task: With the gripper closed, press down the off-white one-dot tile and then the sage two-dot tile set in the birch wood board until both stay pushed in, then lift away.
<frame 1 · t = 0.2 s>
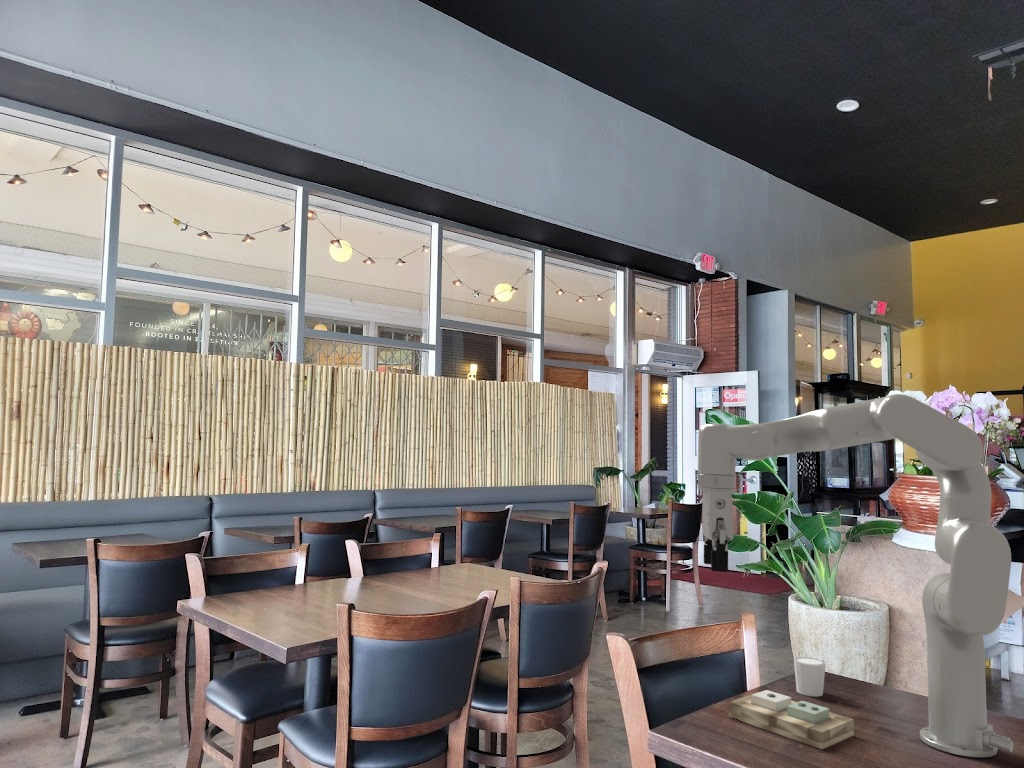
hand: (715, 567, 150), 30 cm above the table, tool pointing down, fingers open, 9 cm apart
tile board: (789, 725, 146), on the table
two dot tile: (808, 712, 143), point 4 cm above the table, slide at 0.0 cm
white cup: (809, 693, 168), on the table
one dot tile: (771, 701, 149), point 4 cm above the table, slide at 0.0 cm
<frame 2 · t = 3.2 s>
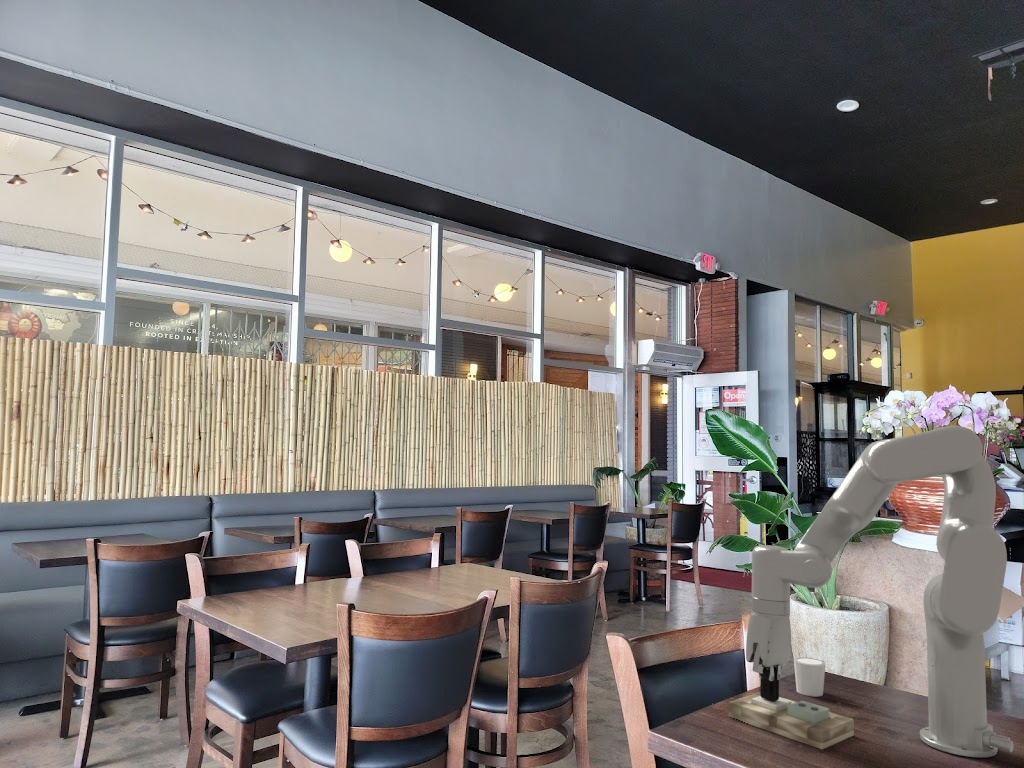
hand: (769, 698, 150), 4 cm above the table, tool pointing down, fingers closed
one dot tile: (771, 705, 149), point 3 cm above the table, slide at 0.8 cm, touching gripper
everything else where it was.
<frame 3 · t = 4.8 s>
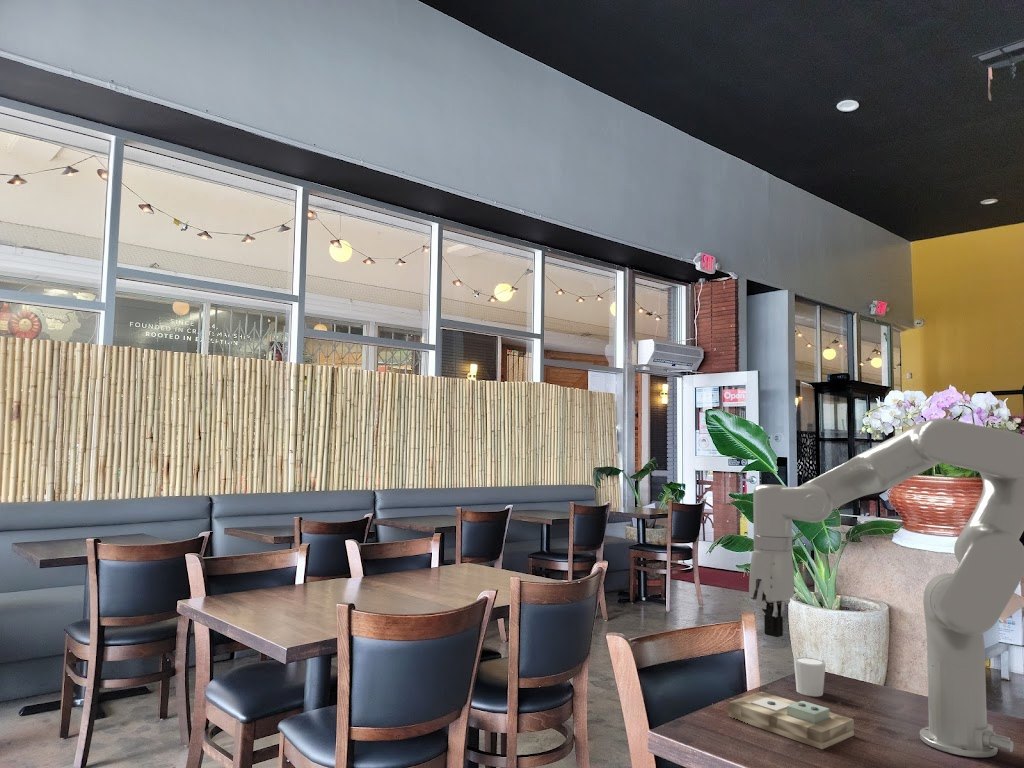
hand: (773, 635, 150), 17 cm above the table, tool pointing down, fingers closed
one dot tile: (771, 708, 149), point 2 cm above the table, slide at 1.5 cm, touching tile board
everything else where it was.
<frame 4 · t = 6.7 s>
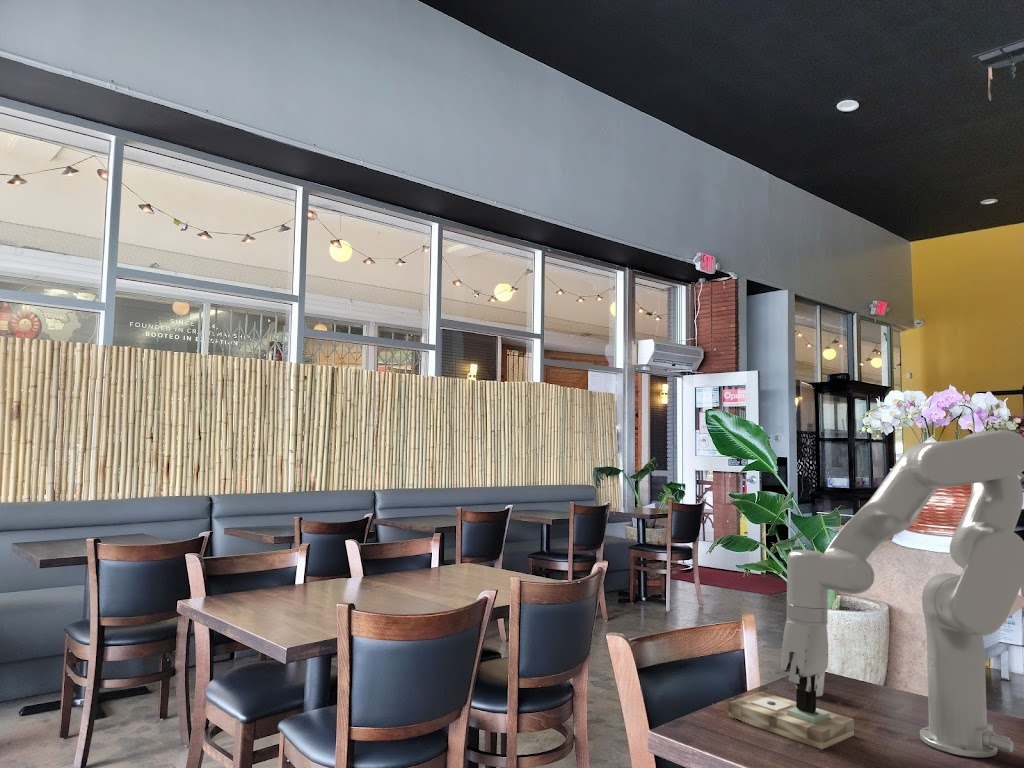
hand: (806, 710, 143), 4 cm above the table, tool pointing down, fingers closed
two dot tile: (808, 716, 143), point 3 cm above the table, slide at 0.8 cm, touching gripper
everything else where it was.
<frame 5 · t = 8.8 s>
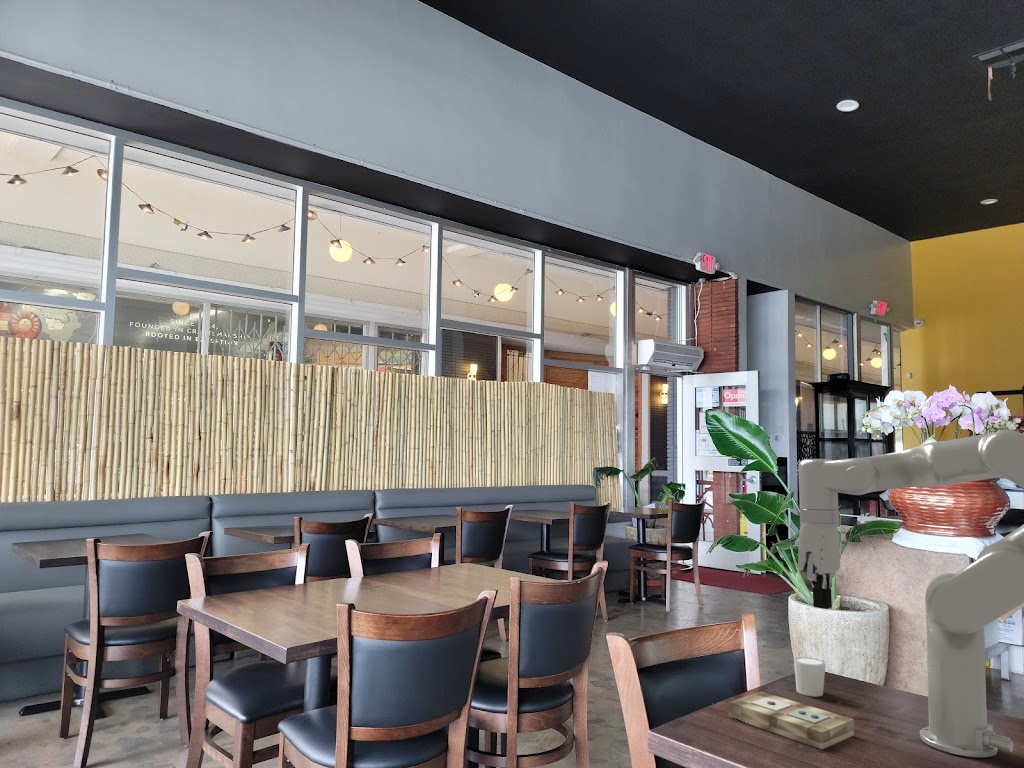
hand: (822, 607, 152), 23 cm above the table, tool pointing down, fingers closed
two dot tile: (808, 720, 143), point 2 cm above the table, slide at 1.5 cm, touching tile board
everything else where it was.
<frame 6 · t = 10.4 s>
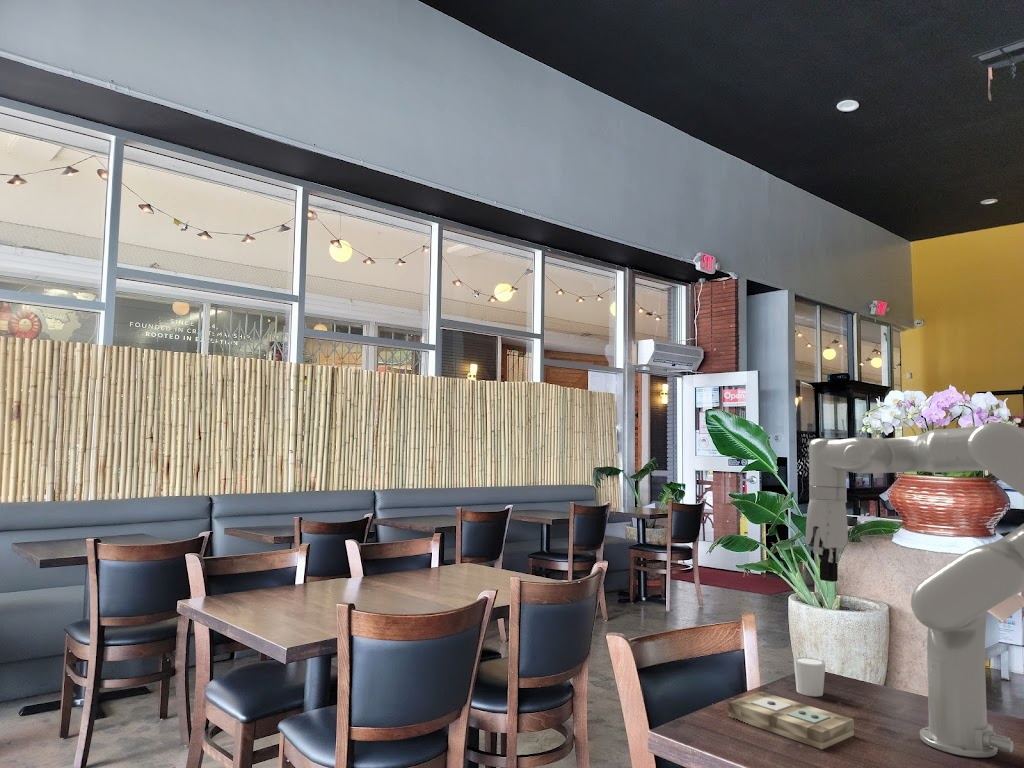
hand: (828, 580, 159), 27 cm above the table, tool pointing down, fingers closed
nothing on the table moved.
at the end: one dot tile slide at 1.5 cm; two dot tile slide at 1.5 cm; white cup moved 0.2 cm from its start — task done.
